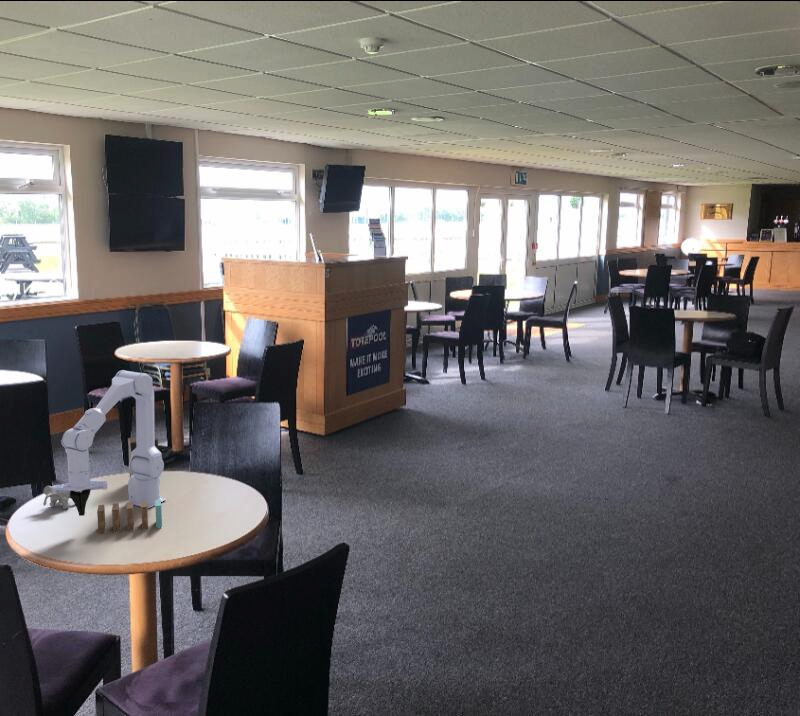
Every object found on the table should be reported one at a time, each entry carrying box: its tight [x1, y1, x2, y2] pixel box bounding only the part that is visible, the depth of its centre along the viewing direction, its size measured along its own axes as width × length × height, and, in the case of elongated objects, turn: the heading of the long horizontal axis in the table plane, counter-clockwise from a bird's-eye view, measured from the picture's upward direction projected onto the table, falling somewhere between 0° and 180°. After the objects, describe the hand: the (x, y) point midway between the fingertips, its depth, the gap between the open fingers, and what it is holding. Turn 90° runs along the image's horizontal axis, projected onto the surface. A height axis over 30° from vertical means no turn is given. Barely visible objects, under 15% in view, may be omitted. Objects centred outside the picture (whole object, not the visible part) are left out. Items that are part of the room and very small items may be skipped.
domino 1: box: [96, 504, 107, 535], centre depth 222 cm, size 2×5×7 cm, turn 17°
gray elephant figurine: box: [43, 485, 71, 510], centre depth 237 cm, size 9×12×8 cm
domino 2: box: [111, 502, 121, 533], centre depth 223 cm, size 2×5×7 cm, turn 17°
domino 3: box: [126, 501, 135, 532], centre depth 224 cm, size 2×5×7 cm, turn 17°
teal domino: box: [154, 499, 163, 529], centre depth 226 cm, size 2×5×7 cm, turn 17°
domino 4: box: [140, 501, 149, 530], centre depth 225 cm, size 2×5×7 cm, turn 17°
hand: (82, 514), depth 220 cm, fingers closed
